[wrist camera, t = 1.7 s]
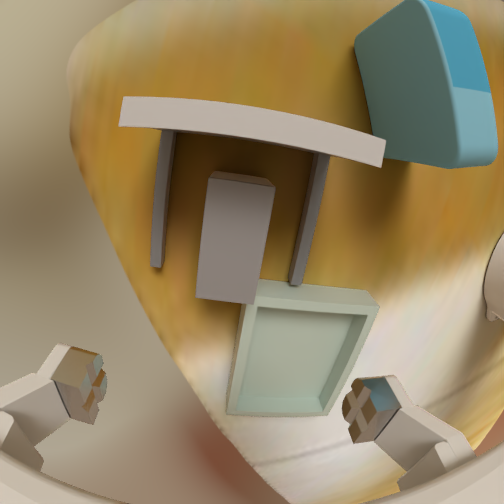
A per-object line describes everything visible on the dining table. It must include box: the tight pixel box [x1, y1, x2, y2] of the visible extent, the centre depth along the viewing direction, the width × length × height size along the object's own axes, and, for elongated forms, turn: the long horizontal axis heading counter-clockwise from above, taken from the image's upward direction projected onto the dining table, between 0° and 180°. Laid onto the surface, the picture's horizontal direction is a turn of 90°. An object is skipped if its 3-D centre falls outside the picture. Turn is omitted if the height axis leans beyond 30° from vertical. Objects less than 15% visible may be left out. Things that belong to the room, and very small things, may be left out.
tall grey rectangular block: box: [195, 171, 276, 305], centre depth 23 cm, size 4×9×6 cm, turn 171°
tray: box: [226, 279, 380, 417], centre depth 29 cm, size 13×17×4 cm
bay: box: [119, 97, 386, 285], centre depth 20 cm, size 14×13×11 cm
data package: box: [354, 0, 498, 169], centre depth 16 cm, size 12×4×12 cm, turn 12°
